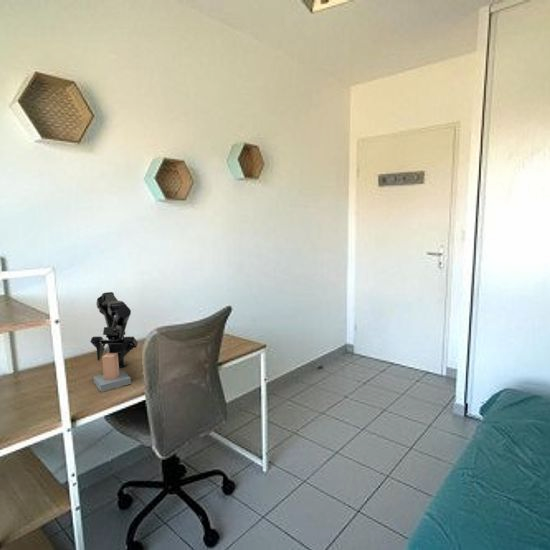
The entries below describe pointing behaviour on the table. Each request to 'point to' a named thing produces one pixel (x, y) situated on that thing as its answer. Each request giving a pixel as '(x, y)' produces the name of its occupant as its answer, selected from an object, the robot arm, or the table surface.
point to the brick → (110, 366)
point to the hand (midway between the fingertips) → (109, 360)
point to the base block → (111, 381)
